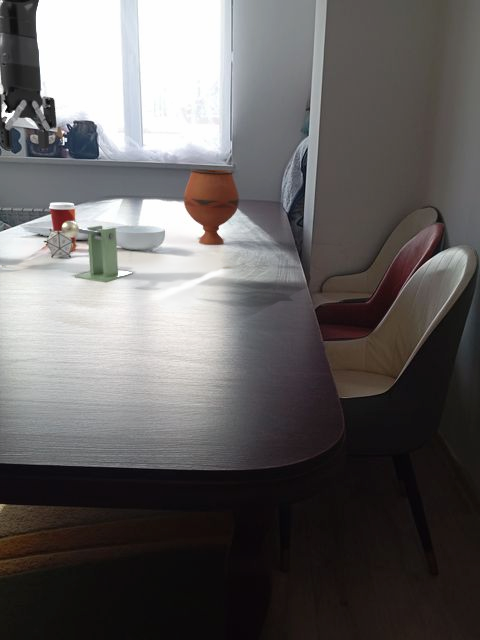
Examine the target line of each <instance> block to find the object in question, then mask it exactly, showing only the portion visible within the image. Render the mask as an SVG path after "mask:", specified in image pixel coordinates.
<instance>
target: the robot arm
mask: <svg viewBox="0 0 480 640" xmlns="http://www.w3.org/2000/svg"><path fill="white" fill-rule="evenodd" d="M40 1H41V0H0V83H1V86H2V89H3V90H2V93H0V145H1V146H2V147H3V149H4V150H9V151H11V150H13V149H14V142H13V132H12V130H11V128H12V126H13V124H14V123H15V122H16V121H18V119H31V121H32V122H34V124H35V125H36V127H37V128H38V129H37V146H38V148H39V149H40V150H41V149H42V150H48V148H49V146H50V135H49V133H50V132H49V131H50V130H51V129H56V128H57V126H58V124H57V114H56V103H55V102H56V101H55V98H54V97H50V96H45V95H44V96H42V95H41V91H42V90H43V82H42V81H43V80H42V79H43V78H42V61H41V60H42V59H41V49H40V42H39V31H38V30H39V29H38V12H39V7H40ZM3 104H4V105H5V106H4V108H3V107H2V105H3ZM41 107H42V110H41Z"/></svg>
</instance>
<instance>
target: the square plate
mask: <svg viewBox="0 0 480 640" xmlns="http://www.w3.org/2000/svg"><path fill="white" fill-rule="evenodd" d="M75 223H76V224H77V225H78V228H80V229H85V230H87V227H92V226H99V225H100V226H102V229H104V228H110V227H117V226H131V225H130V224H123V223H117V222H111V221H104V220H93V219H83V218H75ZM19 226H20V228H22V229H23V230H25V231H26V232H28V233H32V234H37V235H39V234H40V235H39V236H41V235H43V236H42V237H47V236H49V234H50V232H51V231H50V230H49V228H50V229H51V230H52V231H53V224H52V220H44V221H38V222H32V223H26V224H20V225H19ZM75 238H76V241H85V240H86V241H88V235H87V234H82V233H78V234H77V235H76V236H75Z"/></svg>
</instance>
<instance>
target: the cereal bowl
mask: <svg viewBox="0 0 480 640" xmlns="http://www.w3.org/2000/svg"><path fill="white" fill-rule="evenodd" d="M115 228H116V243H117V247H120V248H122V249H124V250H129V251H139V252H147V253H149V252H152V250H154V249H157V248H159V247H160V246H161V245H163V243H164V241H165V237H166V230H165V228H164V227H163V228H162V227H160V226H152V225H130V226H117V227H115Z"/></svg>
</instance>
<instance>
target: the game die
mask: <svg viewBox="0 0 480 640" xmlns="http://www.w3.org/2000/svg"><path fill="white" fill-rule="evenodd" d="M49 230H50V231H51V232H50V234H49V237H47V239H46V240H43V243H45V246H46V247H48V249H49V251H50V253H51V258H54V256H55V257H56V256H68V257H69V258H72V255H70V254H71V252H72V251H71V250H72V247H73V245H74V246H75V245H77V244H73V242H75V241H72V239H71V237H67V236H65V235H64V234H63V232H62V231H52V230H51V229H50V228H49Z"/></svg>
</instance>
